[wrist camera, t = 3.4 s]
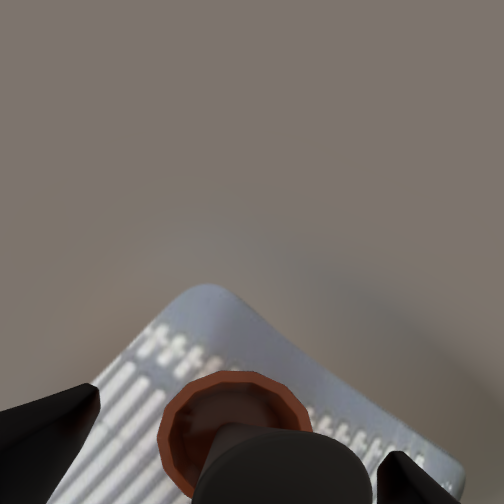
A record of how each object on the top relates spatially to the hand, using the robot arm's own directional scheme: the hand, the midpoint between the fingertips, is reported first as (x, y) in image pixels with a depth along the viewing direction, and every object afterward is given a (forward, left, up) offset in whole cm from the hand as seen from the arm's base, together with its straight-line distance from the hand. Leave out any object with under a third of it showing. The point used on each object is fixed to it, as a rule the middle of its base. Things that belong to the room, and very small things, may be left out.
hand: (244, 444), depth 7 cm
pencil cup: (0, 0, -8) cm, 8 cm away
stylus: (0, 0, -8) cm, 8 cm away
